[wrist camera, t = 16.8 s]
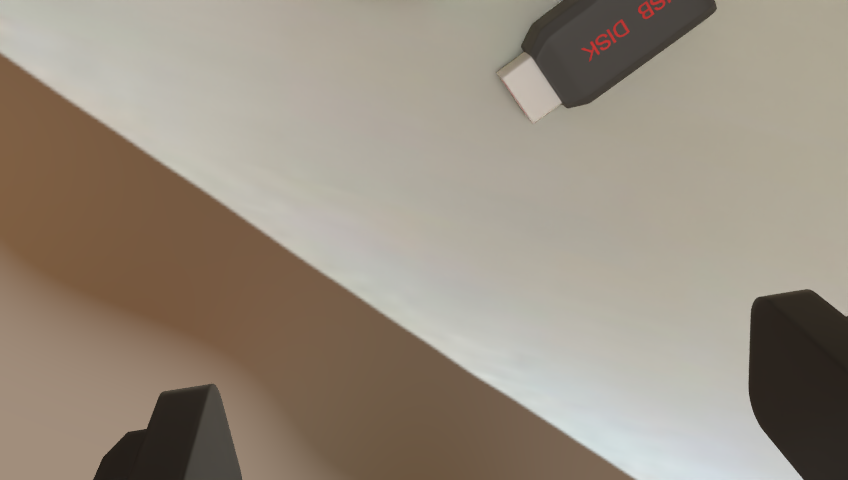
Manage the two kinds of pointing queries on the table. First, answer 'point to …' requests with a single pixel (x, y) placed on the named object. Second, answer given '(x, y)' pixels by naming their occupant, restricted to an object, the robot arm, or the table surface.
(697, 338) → the table surface
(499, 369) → the table surface
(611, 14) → the usb drive
